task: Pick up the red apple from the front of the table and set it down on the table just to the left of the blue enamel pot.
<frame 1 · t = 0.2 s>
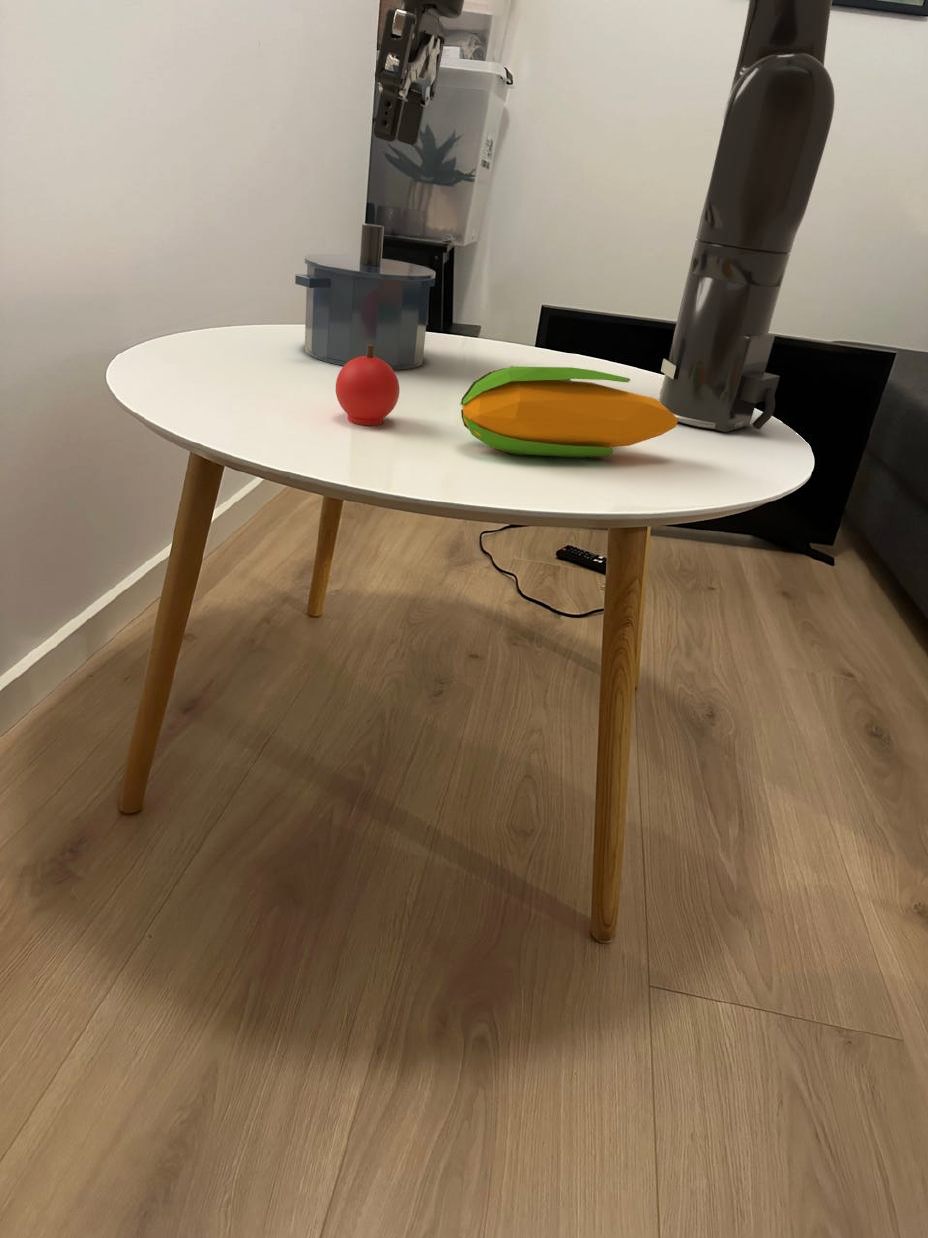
hand: (395, 141, 87), 22 cm above the table, tool pointing down, fingers open, 8 cm apart
pot: (364, 355, 100), on the table
pot lid: (370, 268, 95), point 9 cm above the table, touching pot
apple: (365, 420, 77), on the table
corn: (564, 454, 75), on the table
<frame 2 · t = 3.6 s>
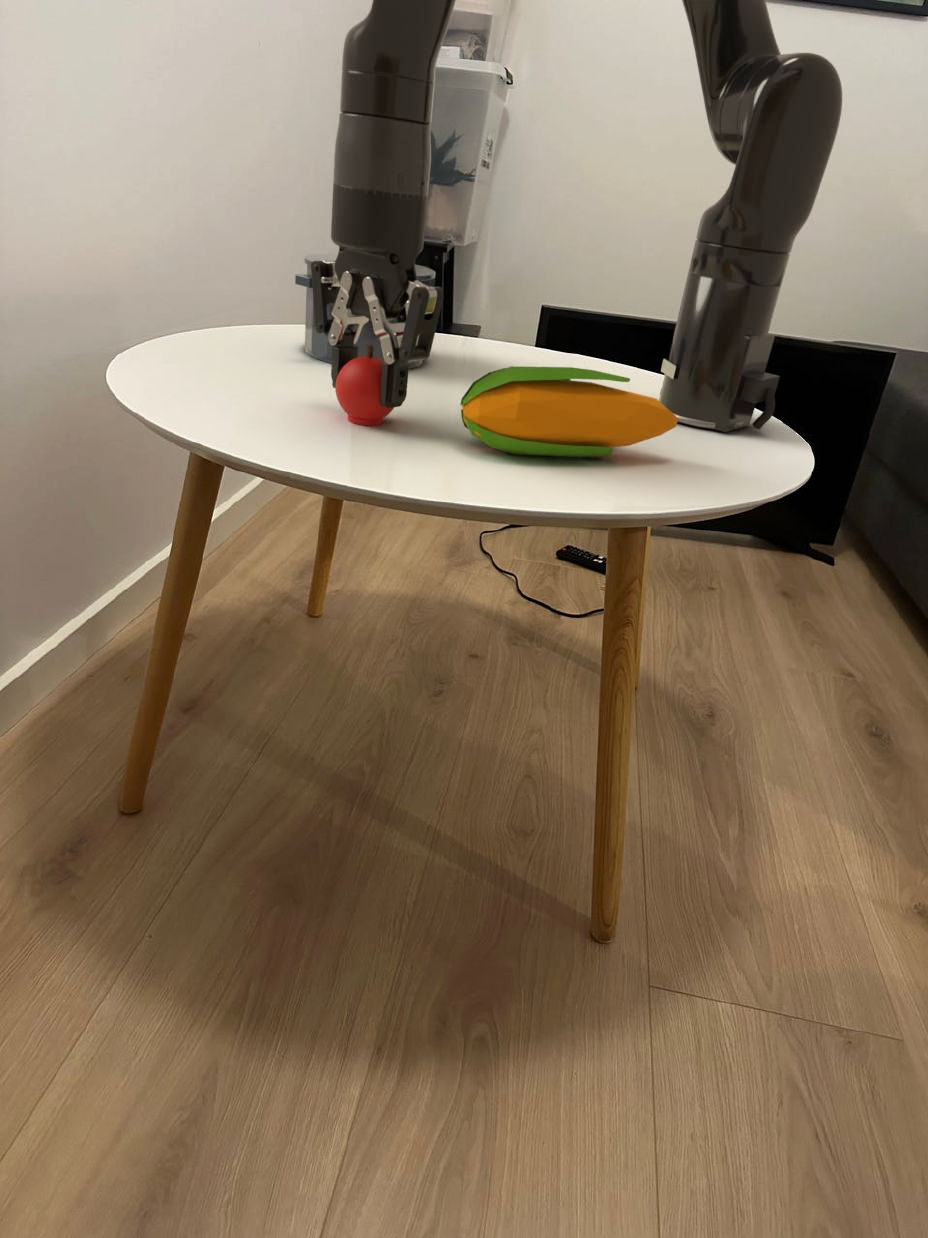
hand: (366, 396, 76), 2 cm above the table, tool pointing down, fingers closed on apple, 5 cm apart
apple: (365, 420, 77), on the table, touching gripper
everything else where it was.
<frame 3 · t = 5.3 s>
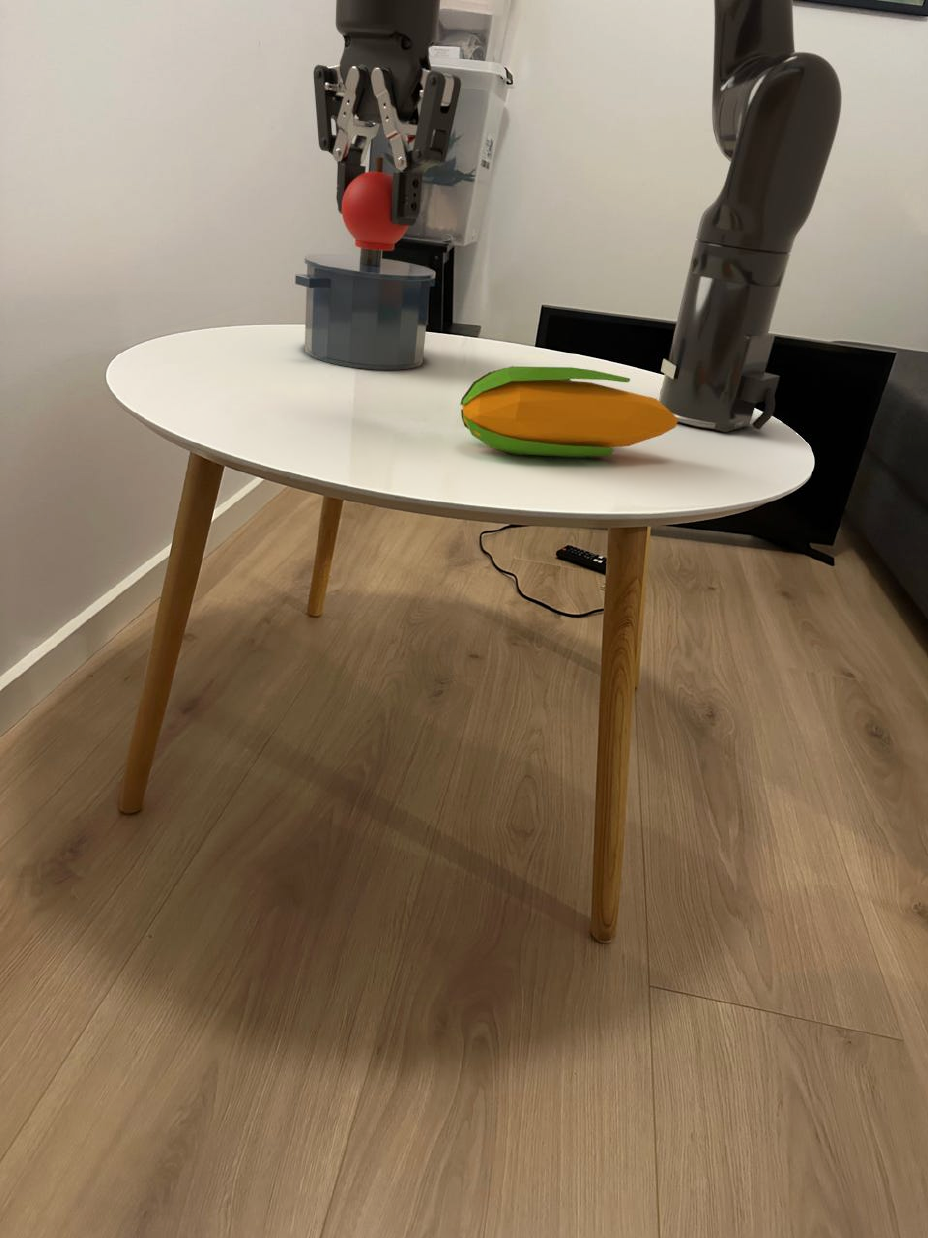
hand: (375, 218, 69), 16 cm above the table, tool pointing down, fingers closed on apple, 5 cm apart
apple: (374, 247, 70), point 14 cm above the table, touching gripper
everything else where it was.
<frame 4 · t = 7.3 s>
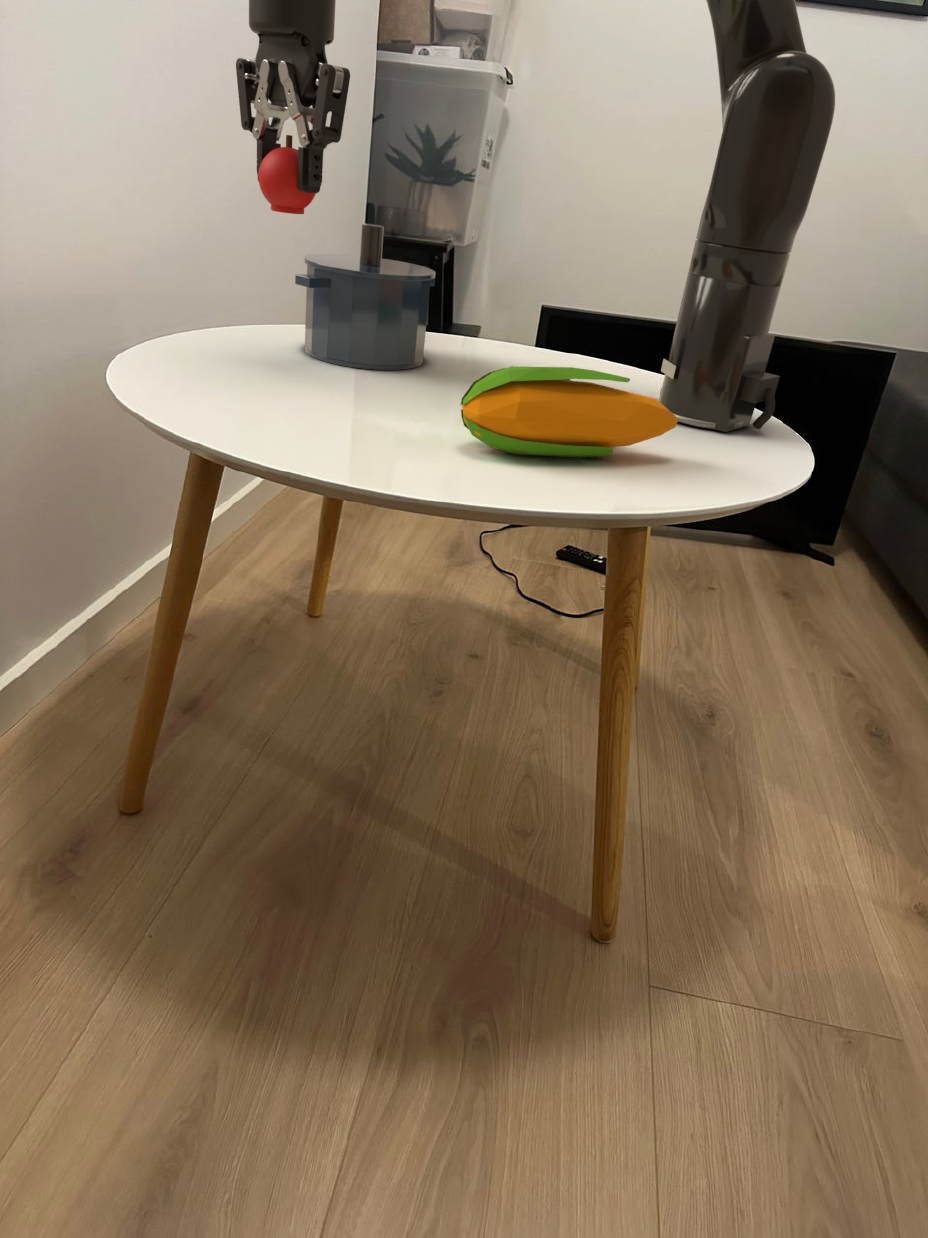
hand: (288, 187, 83), 17 cm above the table, tool pointing down, fingers closed on apple, 5 cm apart
apple: (287, 211, 84), point 15 cm above the table, touching gripper
everything else where it was.
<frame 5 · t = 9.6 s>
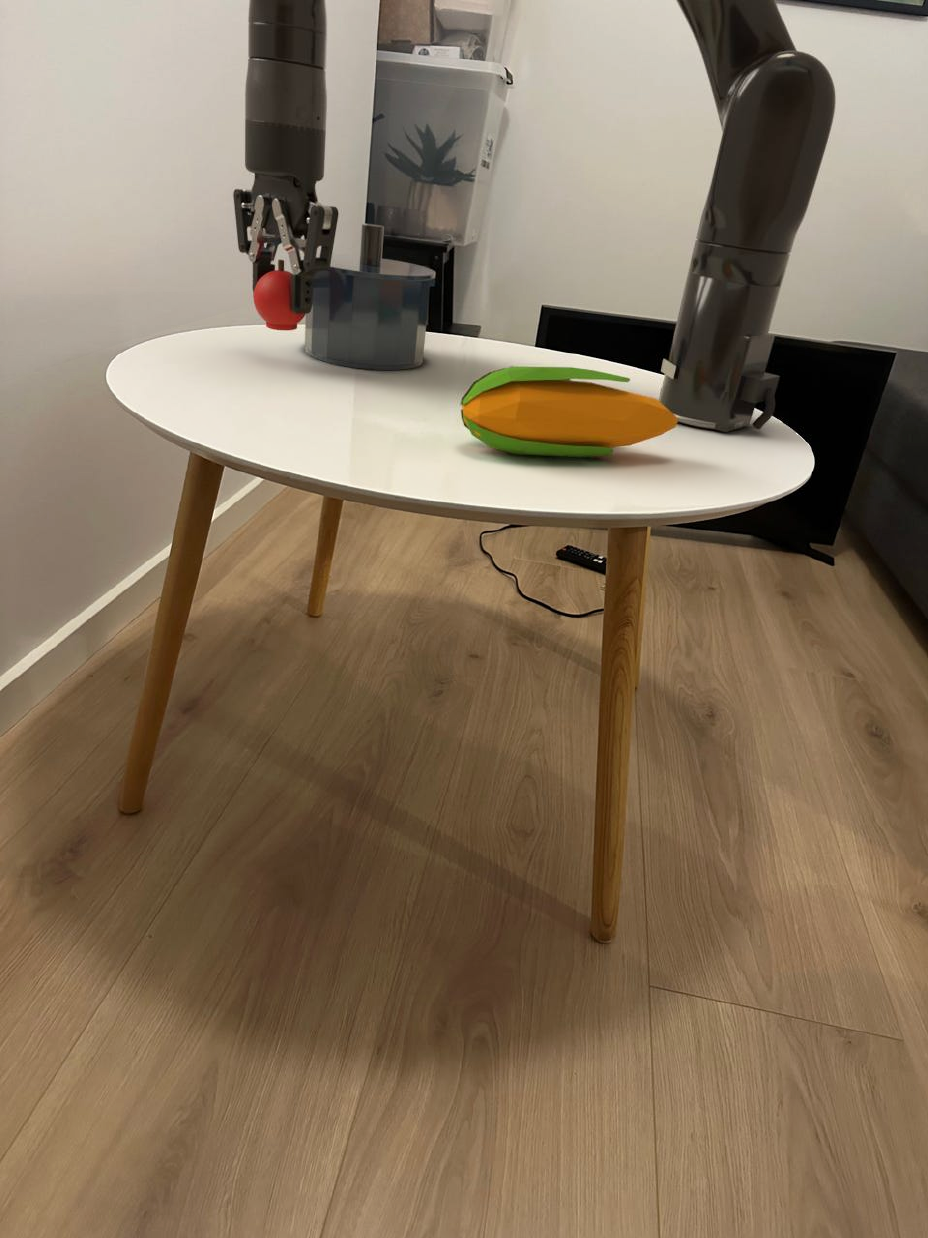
hand: (281, 306, 89), 6 cm above the table, tool pointing down, fingers closed on apple, 5 cm apart
apple: (281, 326, 90), point 4 cm above the table, touching gripper
everything else where it was.
when the fingers open (2 cm above the table, at t = 11.1 s): apple stays where it is, on the table.
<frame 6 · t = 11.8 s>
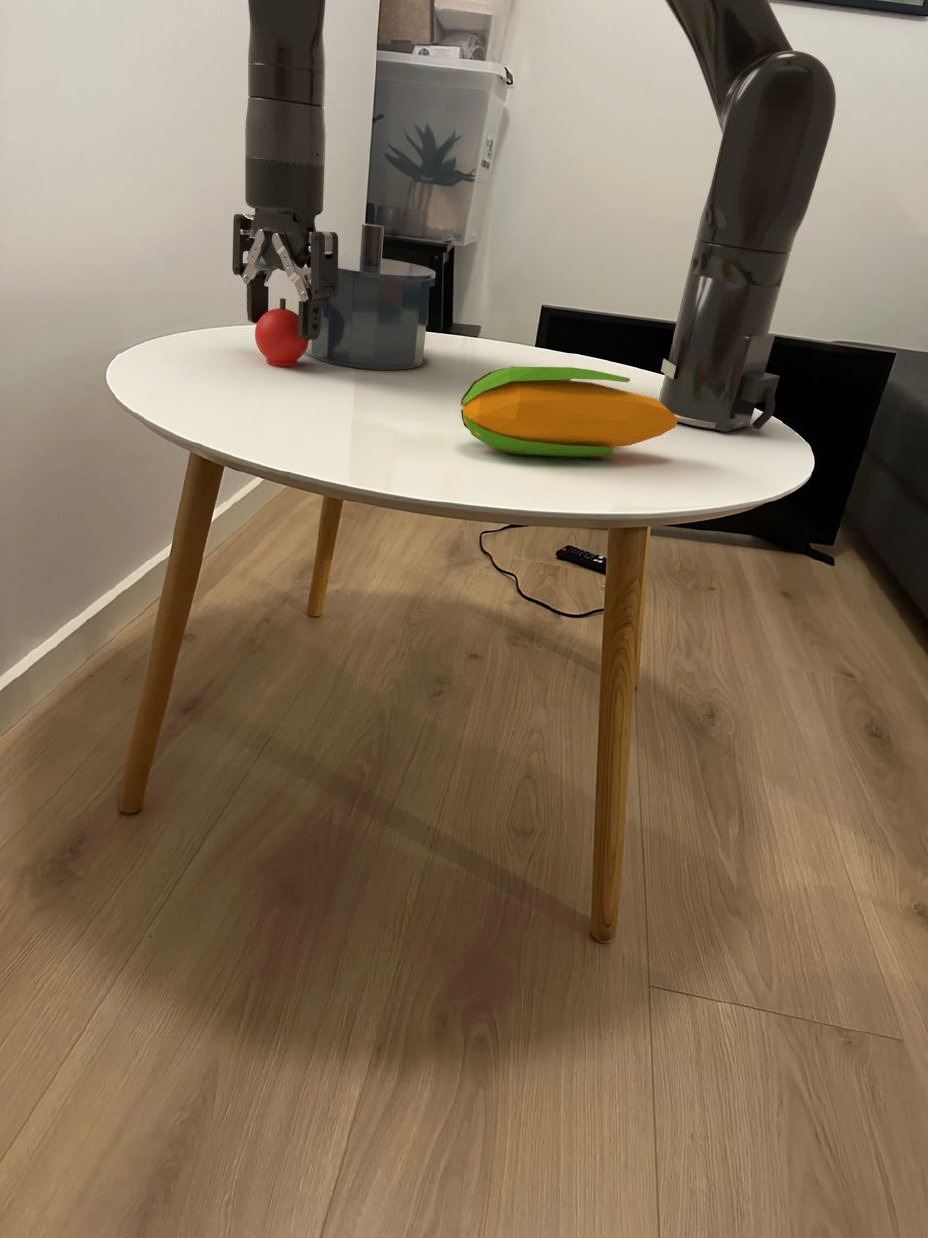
hand: (282, 330, 90), 3 cm above the table, tool pointing down, fingers open, 8 cm apart
apple: (281, 363, 92), on the table
everything else where it was.
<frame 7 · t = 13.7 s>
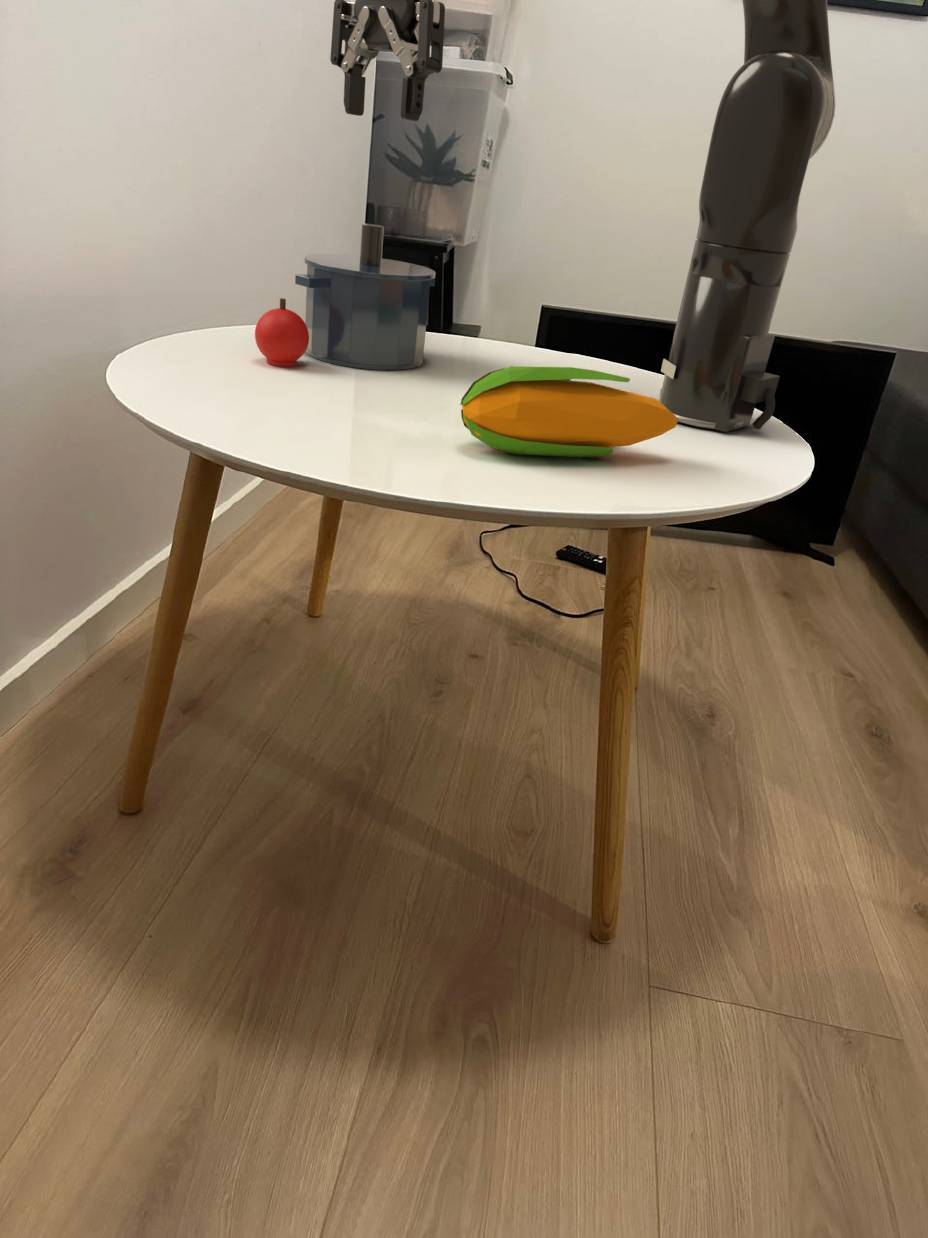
hand: (381, 117, 92), 24 cm above the table, tool pointing down, fingers open, 8 cm apart
nothing on the table moved.
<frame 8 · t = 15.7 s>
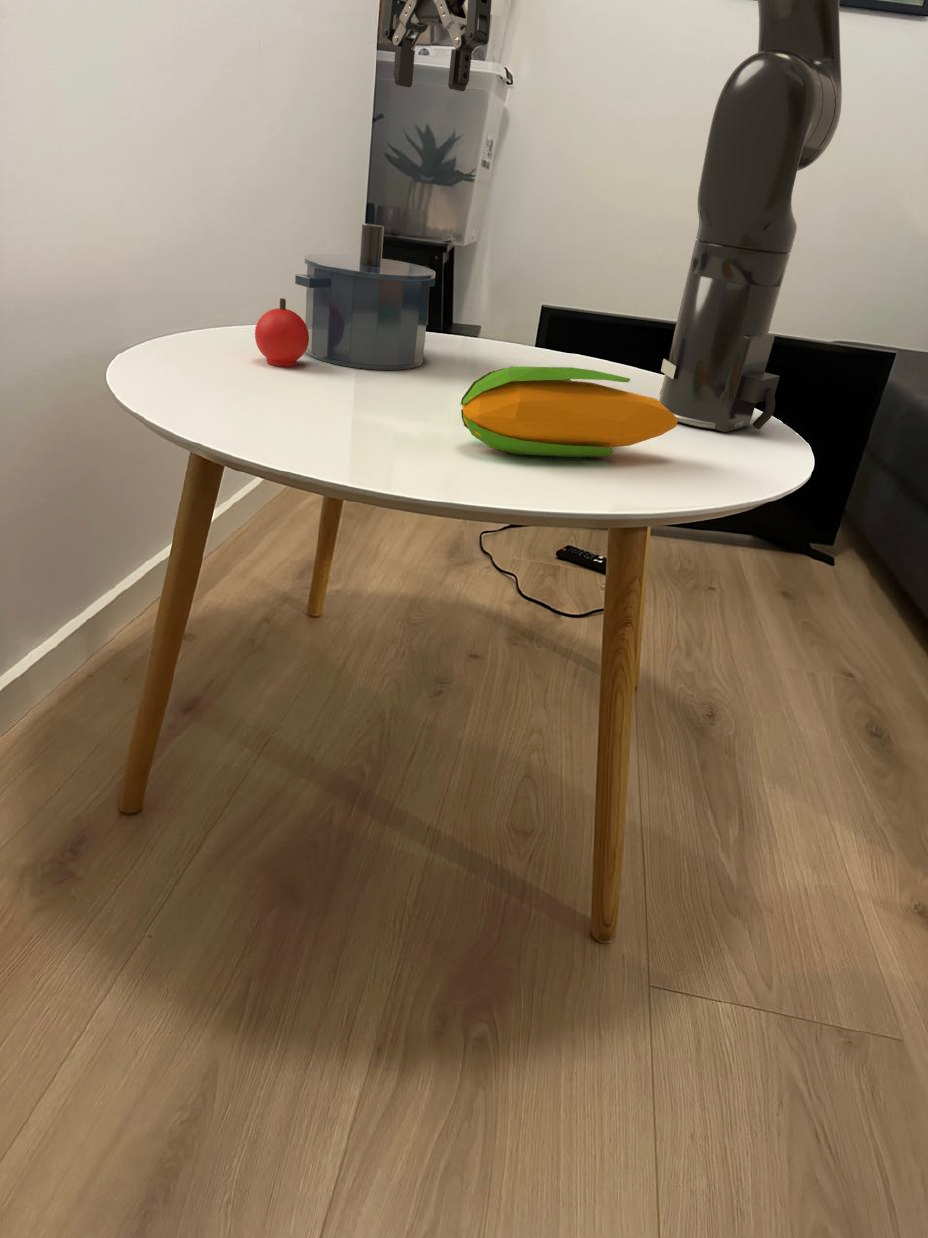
hand: (429, 88, 98), 28 cm above the table, tool pointing down, fingers open, 8 cm apart
nothing on the table moved.
at the end: apple inside the target area on the table beside the pot (0.3 cm from its centre), on the table; the gripper is holding nothing; apple tilted 0° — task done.
